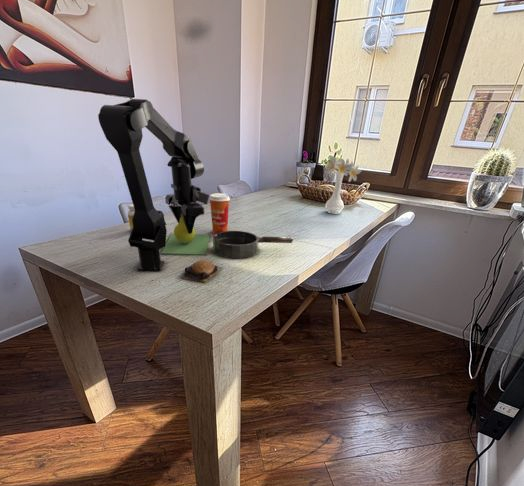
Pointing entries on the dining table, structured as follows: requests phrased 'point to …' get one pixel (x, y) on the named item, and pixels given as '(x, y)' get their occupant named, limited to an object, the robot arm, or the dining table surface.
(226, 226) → the paper cup
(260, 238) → the pan handle
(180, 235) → the fruit
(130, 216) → the supplement bottle
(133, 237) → the robot arm
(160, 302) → the dining table surface
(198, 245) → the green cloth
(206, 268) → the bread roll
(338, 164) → the flower vase
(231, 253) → the pan
